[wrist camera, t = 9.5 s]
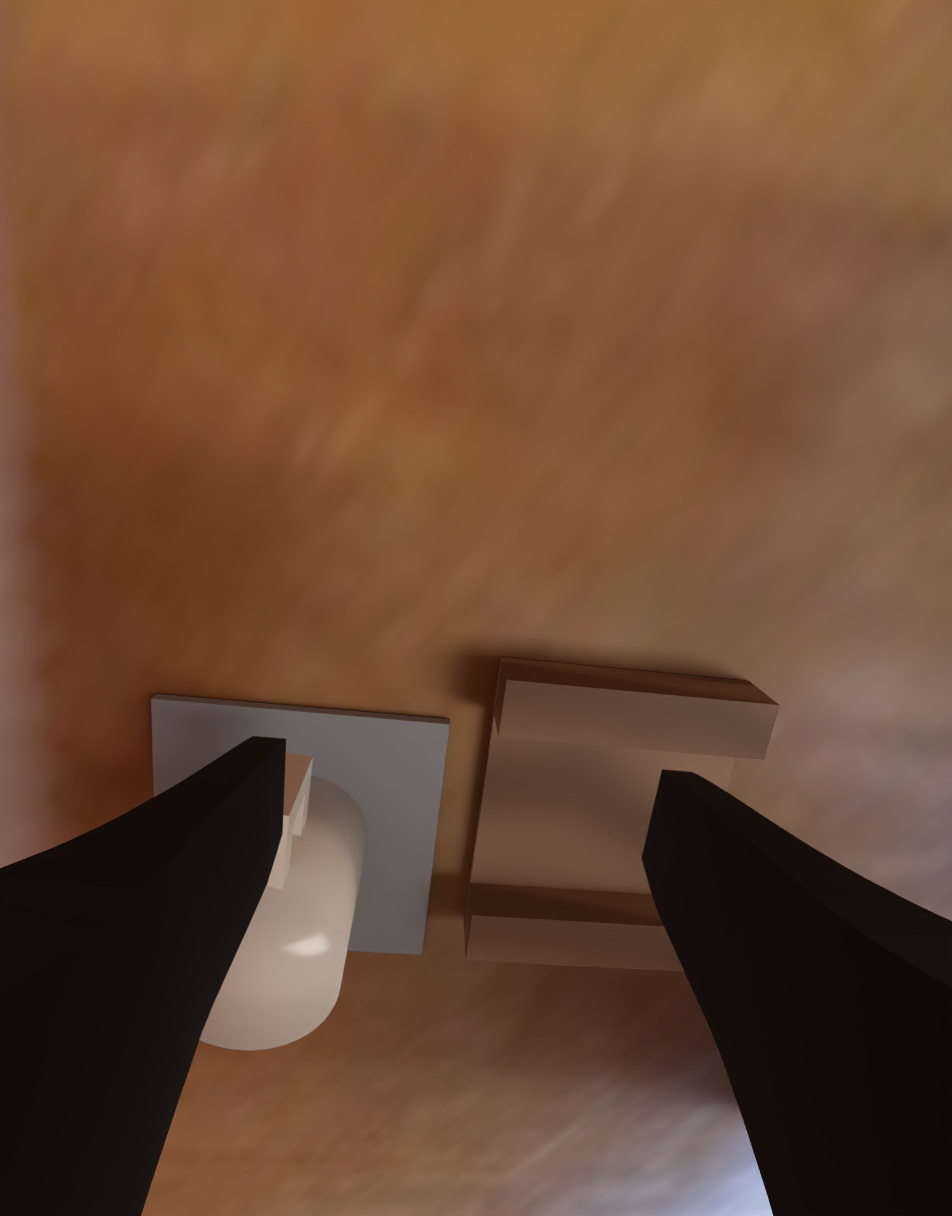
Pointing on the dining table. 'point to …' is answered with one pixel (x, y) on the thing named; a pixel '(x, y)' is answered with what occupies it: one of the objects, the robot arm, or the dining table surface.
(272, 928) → the cream jug
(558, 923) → the walnut cradle
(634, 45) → the dining table surface
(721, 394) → the dining table surface
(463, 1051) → the dining table surface
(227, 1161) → the dining table surface
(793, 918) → the robot arm
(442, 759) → the grey mat
